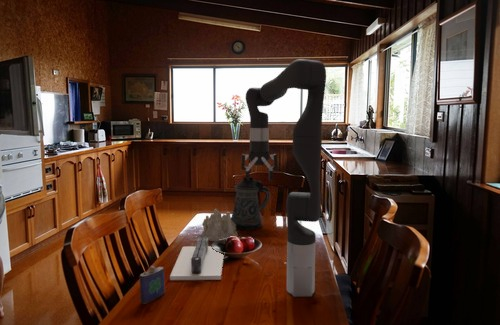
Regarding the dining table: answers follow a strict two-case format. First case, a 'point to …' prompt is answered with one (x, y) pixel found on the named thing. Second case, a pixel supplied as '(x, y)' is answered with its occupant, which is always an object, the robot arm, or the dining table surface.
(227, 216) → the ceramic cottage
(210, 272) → the cutting board
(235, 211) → the beer stein
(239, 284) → the dining table surface
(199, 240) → the tongs arm
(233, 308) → the dining table surface
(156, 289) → the flask
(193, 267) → the arm
